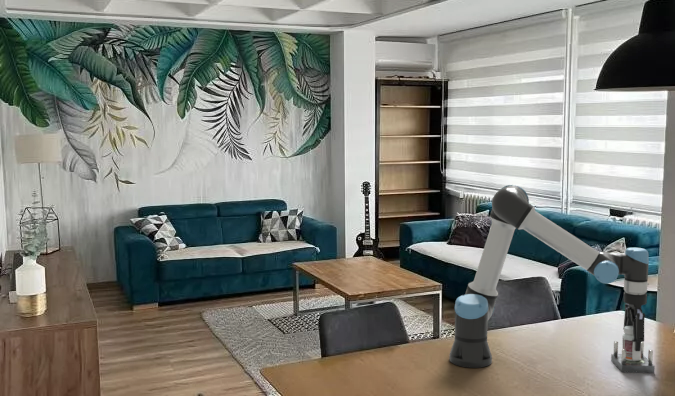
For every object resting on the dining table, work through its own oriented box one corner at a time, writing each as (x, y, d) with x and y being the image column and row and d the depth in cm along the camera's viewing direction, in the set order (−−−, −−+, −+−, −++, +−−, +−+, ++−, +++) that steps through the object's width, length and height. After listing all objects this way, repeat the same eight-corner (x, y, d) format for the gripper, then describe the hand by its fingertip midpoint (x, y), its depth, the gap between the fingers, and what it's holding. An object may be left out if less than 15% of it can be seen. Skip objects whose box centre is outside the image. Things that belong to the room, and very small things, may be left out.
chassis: (621, 372, 248) (622, 351, 247) (611, 360, 260) (611, 340, 259) (654, 372, 247) (655, 351, 246) (642, 361, 259) (643, 341, 258)
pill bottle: (644, 360, 250) (645, 329, 249) (628, 362, 250) (628, 330, 249) (635, 355, 257) (635, 324, 255) (619, 356, 256) (619, 325, 255)
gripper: (656, 299, 240) (653, 365, 243) (636, 285, 260) (634, 346, 263) (633, 299, 241) (631, 365, 243) (615, 285, 261) (613, 346, 263)
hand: (632, 355), depth 253 cm, fingers open, 7 cm apart
